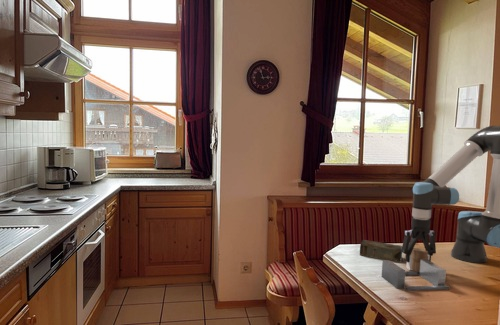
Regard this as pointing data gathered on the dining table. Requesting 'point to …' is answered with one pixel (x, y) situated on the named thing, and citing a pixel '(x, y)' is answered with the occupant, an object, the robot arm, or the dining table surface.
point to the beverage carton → (381, 250)
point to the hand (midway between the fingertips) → (417, 268)
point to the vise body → (403, 277)
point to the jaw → (432, 273)
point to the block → (418, 258)
